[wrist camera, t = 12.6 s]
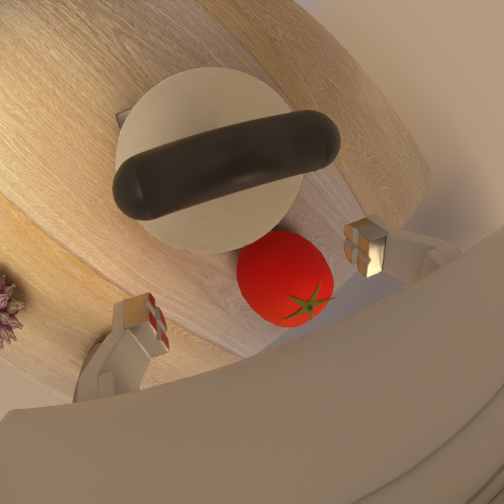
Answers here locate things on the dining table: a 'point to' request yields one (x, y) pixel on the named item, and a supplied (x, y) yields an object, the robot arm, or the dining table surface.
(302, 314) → the tomato
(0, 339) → the flower
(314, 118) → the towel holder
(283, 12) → the dining table surface
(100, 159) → the dining table surface
